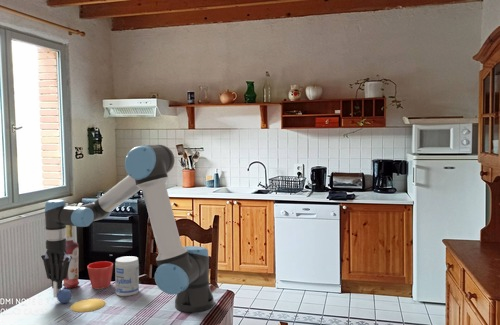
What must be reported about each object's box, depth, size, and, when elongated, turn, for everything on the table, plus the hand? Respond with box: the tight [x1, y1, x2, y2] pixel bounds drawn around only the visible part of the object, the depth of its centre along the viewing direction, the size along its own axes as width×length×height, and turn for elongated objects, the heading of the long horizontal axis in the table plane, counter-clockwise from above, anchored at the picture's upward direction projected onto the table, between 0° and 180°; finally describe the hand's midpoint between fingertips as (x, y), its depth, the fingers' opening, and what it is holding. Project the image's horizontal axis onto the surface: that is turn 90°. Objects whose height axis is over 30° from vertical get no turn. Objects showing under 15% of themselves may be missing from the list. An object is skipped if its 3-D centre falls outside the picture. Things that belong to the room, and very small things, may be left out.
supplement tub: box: [114, 255, 140, 297], centre depth 186 cm, size 10×10×15 cm
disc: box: [70, 298, 107, 313], centre depth 173 cm, size 13×13×1 cm
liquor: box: [62, 225, 80, 290], centre depth 194 cm, size 7×7×28 cm
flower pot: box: [86, 260, 114, 290], centre depth 195 cm, size 11×11×10 cm
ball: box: [56, 288, 73, 304], centre depth 176 cm, size 6×6×6 cm
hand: (57, 296), depth 177 cm, fingers closed
